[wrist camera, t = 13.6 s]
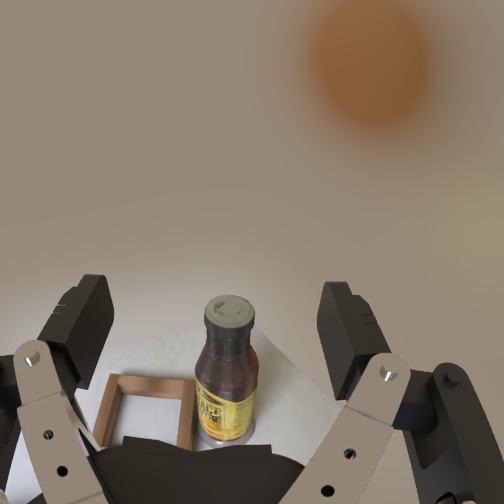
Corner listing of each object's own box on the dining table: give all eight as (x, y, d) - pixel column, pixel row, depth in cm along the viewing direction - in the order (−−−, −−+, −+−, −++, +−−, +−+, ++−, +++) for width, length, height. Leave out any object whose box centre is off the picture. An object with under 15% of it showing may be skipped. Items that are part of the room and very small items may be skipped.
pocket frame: (94, 462, 29) (86, 454, 28) (114, 383, 40) (110, 373, 39) (190, 476, 29) (187, 470, 28) (196, 391, 41) (195, 381, 39)
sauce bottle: (192, 413, 37) (177, 291, 27) (237, 398, 39) (243, 275, 30) (213, 454, 32) (204, 343, 22) (260, 436, 35) (280, 320, 25)
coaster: (196, 448, 33) (195, 446, 33) (199, 403, 39) (199, 401, 39) (254, 450, 33) (254, 448, 33) (252, 404, 39) (252, 402, 39)
